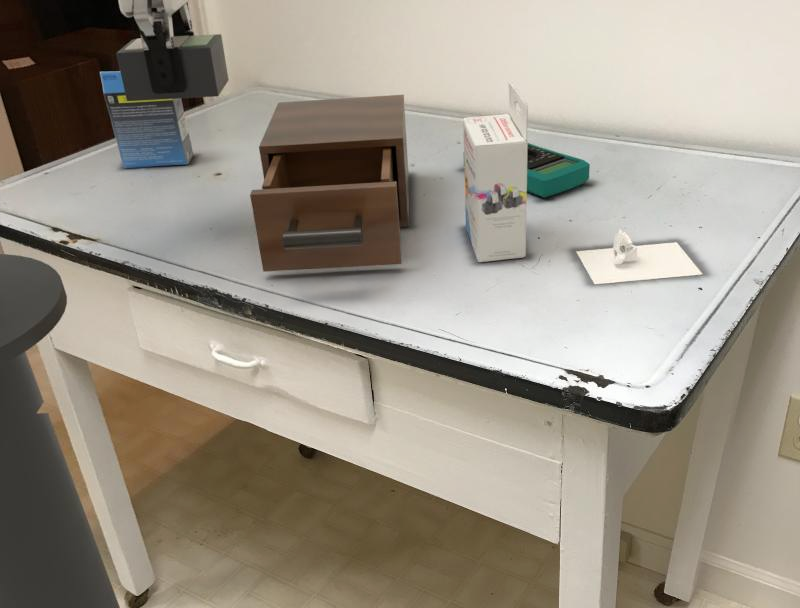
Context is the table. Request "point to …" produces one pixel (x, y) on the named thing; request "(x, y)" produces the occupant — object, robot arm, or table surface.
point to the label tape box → (146, 127)
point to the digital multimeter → (553, 171)
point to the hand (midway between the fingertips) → (177, 81)
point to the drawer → (328, 210)
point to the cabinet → (342, 133)
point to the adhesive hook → (636, 261)
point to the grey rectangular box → (198, 63)
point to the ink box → (497, 181)
